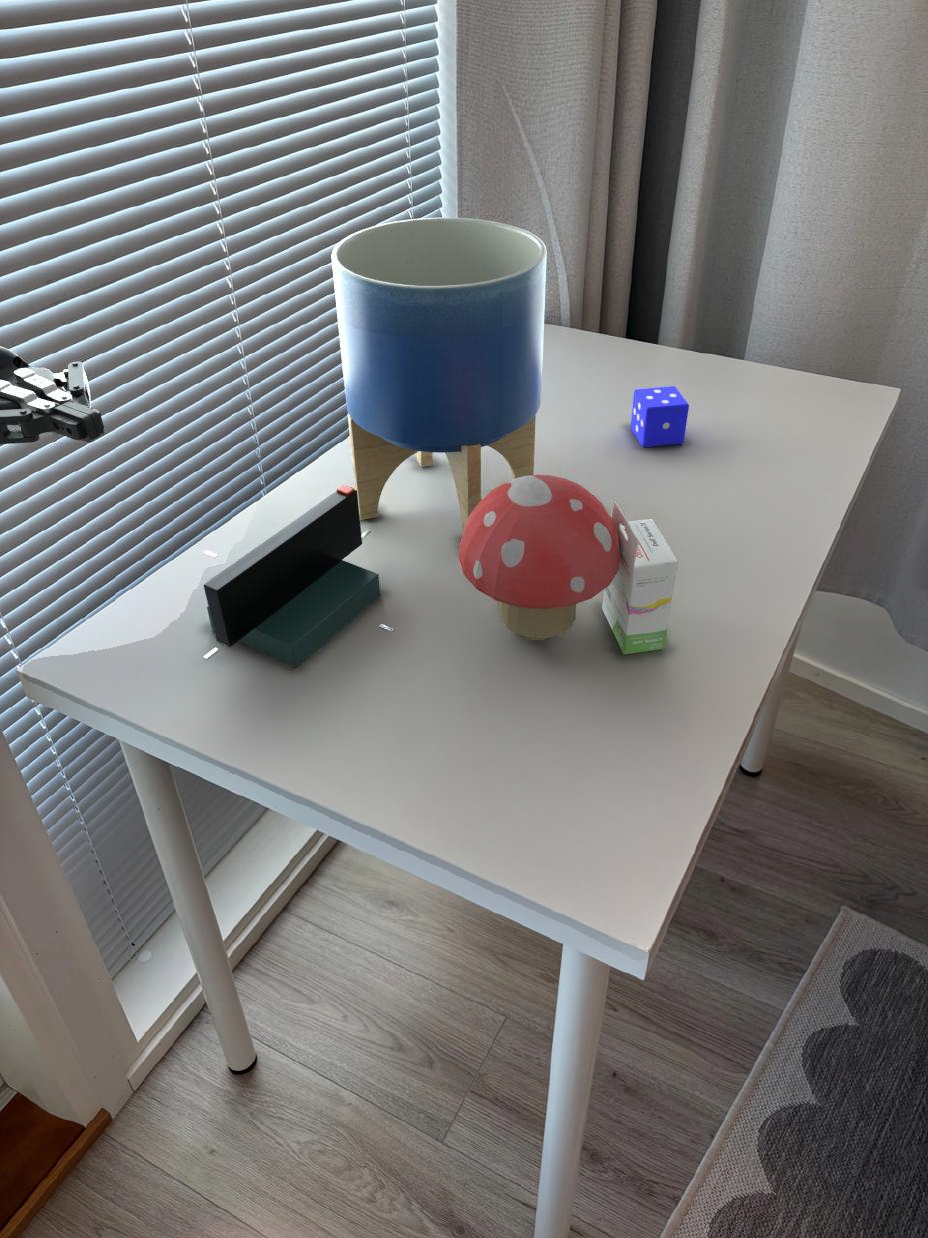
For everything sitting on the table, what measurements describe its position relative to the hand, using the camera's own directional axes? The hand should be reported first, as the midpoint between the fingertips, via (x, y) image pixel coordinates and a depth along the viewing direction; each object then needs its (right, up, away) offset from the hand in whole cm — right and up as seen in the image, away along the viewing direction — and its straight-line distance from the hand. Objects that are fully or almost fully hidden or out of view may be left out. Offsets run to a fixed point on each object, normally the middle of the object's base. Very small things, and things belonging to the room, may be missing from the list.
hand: (95, 427), depth 76 cm
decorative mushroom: (+36, -17, +8) cm, 41 cm away
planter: (+28, -3, +25) cm, 38 cm away
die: (+52, +6, +36) cm, 64 cm away
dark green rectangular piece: (+14, -15, +11) cm, 23 cm away
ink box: (+45, -16, +8) cm, 48 cm away
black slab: (+14, -13, +9) cm, 21 cm away
